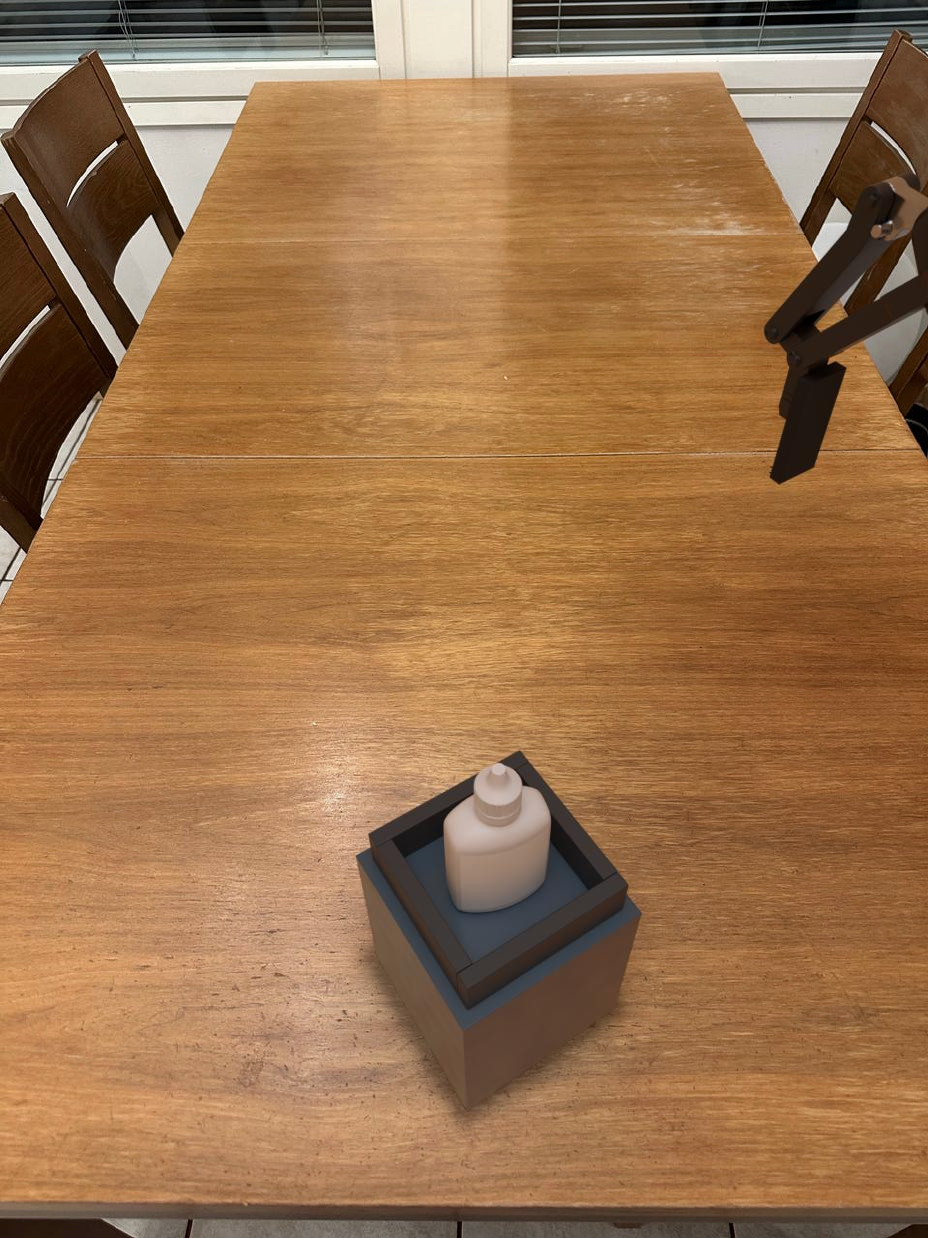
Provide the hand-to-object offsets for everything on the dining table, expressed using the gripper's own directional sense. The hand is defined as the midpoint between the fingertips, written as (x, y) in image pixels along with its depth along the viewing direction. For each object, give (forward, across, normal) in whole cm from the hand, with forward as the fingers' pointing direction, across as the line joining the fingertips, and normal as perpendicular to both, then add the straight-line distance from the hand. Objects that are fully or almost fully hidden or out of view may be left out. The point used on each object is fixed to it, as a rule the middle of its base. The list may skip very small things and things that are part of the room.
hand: (887, 543), depth 49 cm
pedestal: (+32, -2, -23) cm, 39 cm away
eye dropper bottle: (+17, -2, -23) cm, 29 cm away
